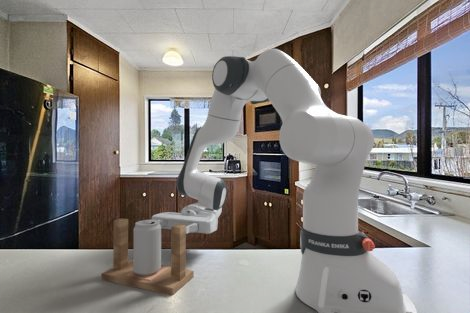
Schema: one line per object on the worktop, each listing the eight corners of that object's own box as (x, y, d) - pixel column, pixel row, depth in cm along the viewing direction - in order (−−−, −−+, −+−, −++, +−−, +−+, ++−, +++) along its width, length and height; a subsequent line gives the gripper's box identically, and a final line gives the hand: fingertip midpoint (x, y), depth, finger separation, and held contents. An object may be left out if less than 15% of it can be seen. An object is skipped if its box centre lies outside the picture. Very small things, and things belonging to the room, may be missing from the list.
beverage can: (152, 278, 58) (153, 226, 58) (127, 275, 59) (127, 224, 60) (165, 266, 64) (165, 219, 65) (142, 264, 66) (142, 218, 66)
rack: (193, 276, 63) (193, 222, 63) (172, 295, 54) (173, 231, 54) (128, 265, 70) (129, 215, 70) (101, 279, 61) (101, 223, 61)
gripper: (166, 206, 87) (138, 214, 74) (221, 210, 80) (201, 220, 67) (166, 224, 87) (138, 236, 74) (221, 230, 80) (201, 244, 67)
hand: (169, 228), depth 71 cm, fingers open, 8 cm apart
